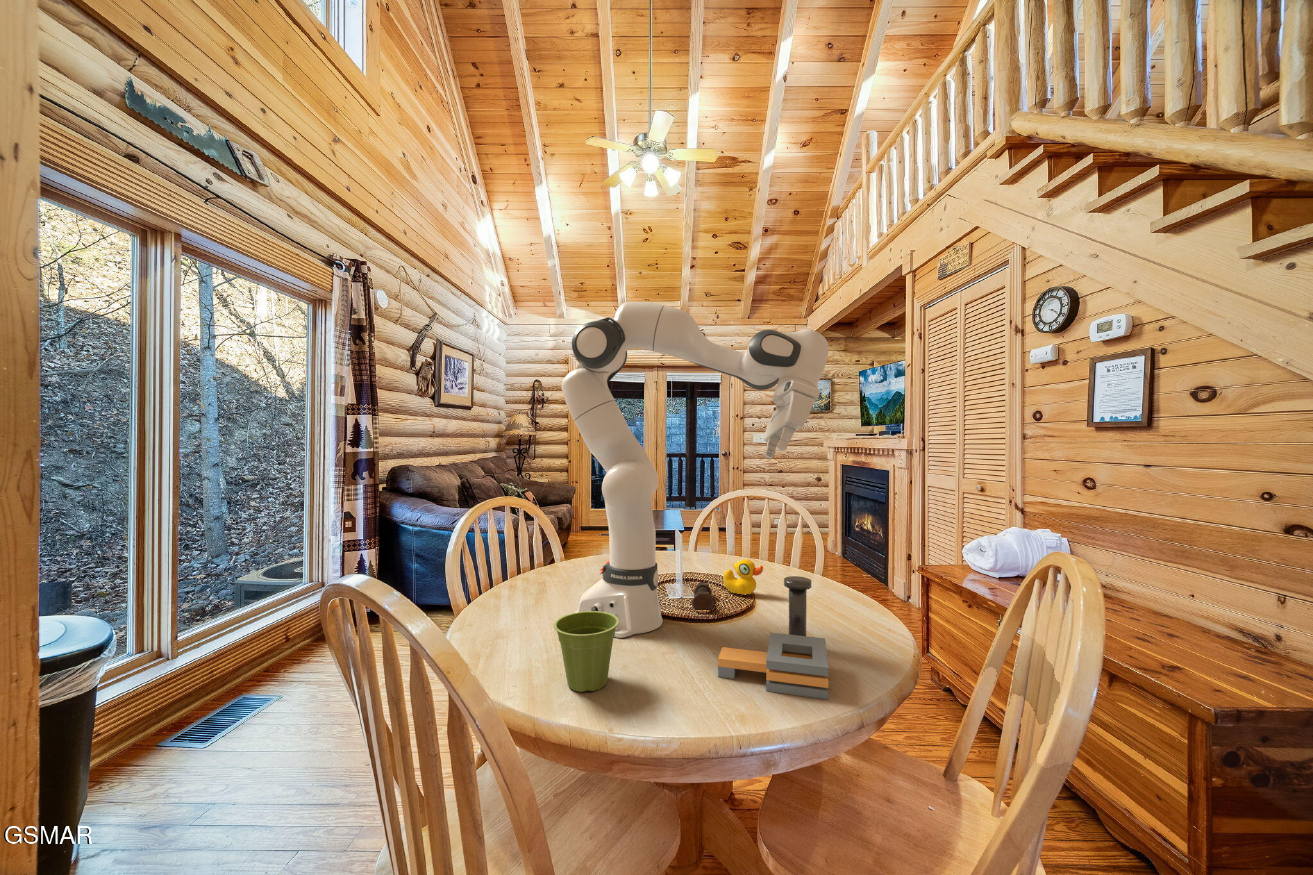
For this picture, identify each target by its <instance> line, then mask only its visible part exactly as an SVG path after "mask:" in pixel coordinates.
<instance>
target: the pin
mask: <svg viewBox="0 0 1313 875" xmlns="http://www.w3.org/2000/svg"><path fill="white" fill-rule="evenodd" d="M783 586H784V587H786V588H787V589H788V634H789V635H798V636H807V590H809V589H812V580H811V579H810V578H807V577H805V576H796V575H791V576H786V577H784V578H783Z"/></svg>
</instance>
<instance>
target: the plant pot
mask: <svg viewBox="0 0 1313 875" xmlns="http://www.w3.org/2000/svg"><path fill="white" fill-rule="evenodd" d="M618 624H619V619H618V618H617V617H616V616H615V615H613V614H610V613H607V612H600V611H583V612H576V613H574V612H572V613H569V614H566V615H563V616H561V617H559V618H557V619H556V620H555V621H554V623H553V628H554V630H555V631H556V632H557V637H558V641H559V643H560V649H561V653H562V654H561V656H562V660H563V665H564V671H565V677H566V682H567V686H568V688H569V689H570V690H573V691H576V692H580V693H584V692H587V691H590V692H594V691H598V690H601V689H602V688H603V687H605V686H606V684H607V683H608V680H609V679H608V678H609V671H610V670H609V669H610V664H611V658H612V657H611V656H612V649H613V641H614V639H615V637H614V636H615V630H616V627H617V626H618Z"/></svg>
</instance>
